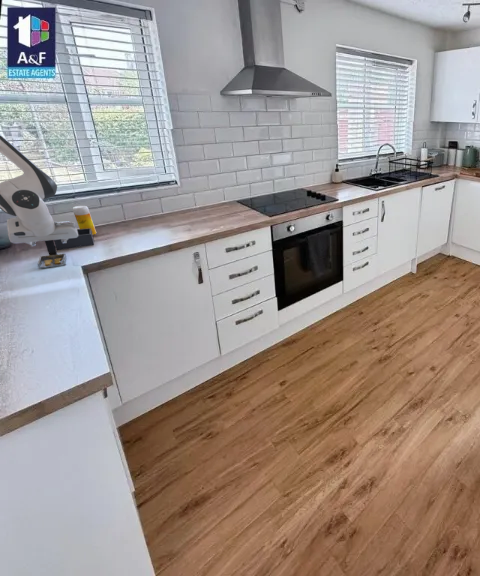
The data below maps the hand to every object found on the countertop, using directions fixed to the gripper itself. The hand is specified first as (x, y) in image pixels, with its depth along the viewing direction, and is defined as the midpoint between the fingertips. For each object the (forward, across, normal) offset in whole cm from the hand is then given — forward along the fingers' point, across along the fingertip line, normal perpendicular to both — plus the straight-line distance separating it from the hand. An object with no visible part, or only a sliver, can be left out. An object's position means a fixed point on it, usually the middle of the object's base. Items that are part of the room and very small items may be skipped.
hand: (49, 243), depth 149 cm
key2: (+1, -1, +8) cm, 9 cm away
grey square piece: (+2, 0, +8) cm, 8 cm away
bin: (+19, -7, -9) cm, 22 cm away
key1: (+1, +2, +9) cm, 9 cm away
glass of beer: (+32, -12, -22) cm, 40 cm away
